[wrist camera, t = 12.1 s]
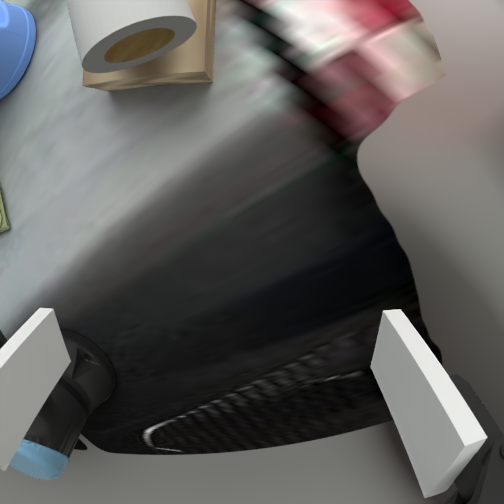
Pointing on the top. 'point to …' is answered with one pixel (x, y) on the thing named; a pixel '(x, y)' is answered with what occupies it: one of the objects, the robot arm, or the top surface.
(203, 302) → the top surface
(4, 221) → the washcloth
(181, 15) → the toilet paper
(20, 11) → the water jug
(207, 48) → the oak brick
